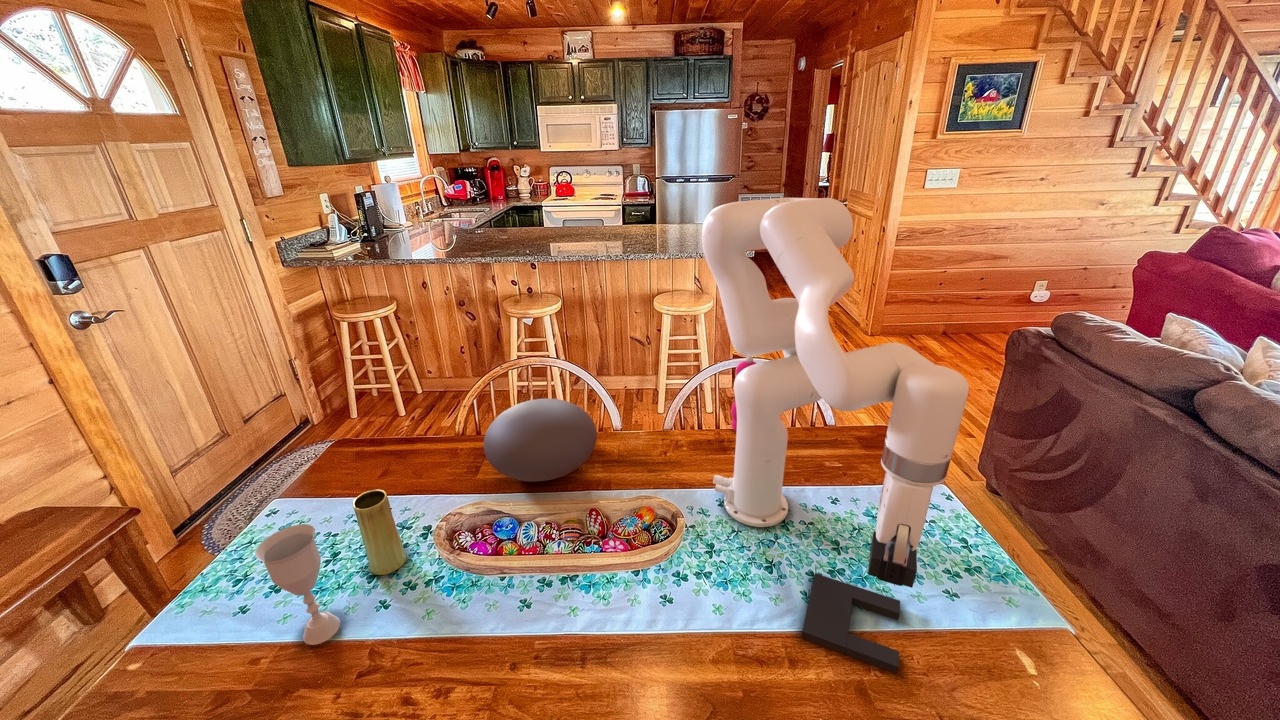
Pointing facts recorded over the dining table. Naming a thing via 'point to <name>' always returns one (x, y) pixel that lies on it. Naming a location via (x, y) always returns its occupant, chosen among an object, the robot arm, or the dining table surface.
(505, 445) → the flattened ellipsoid
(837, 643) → the base pad
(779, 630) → the dining table surface
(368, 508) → the vase
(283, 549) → the chalice
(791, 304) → the robot arm
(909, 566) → the connector pad
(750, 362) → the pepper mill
